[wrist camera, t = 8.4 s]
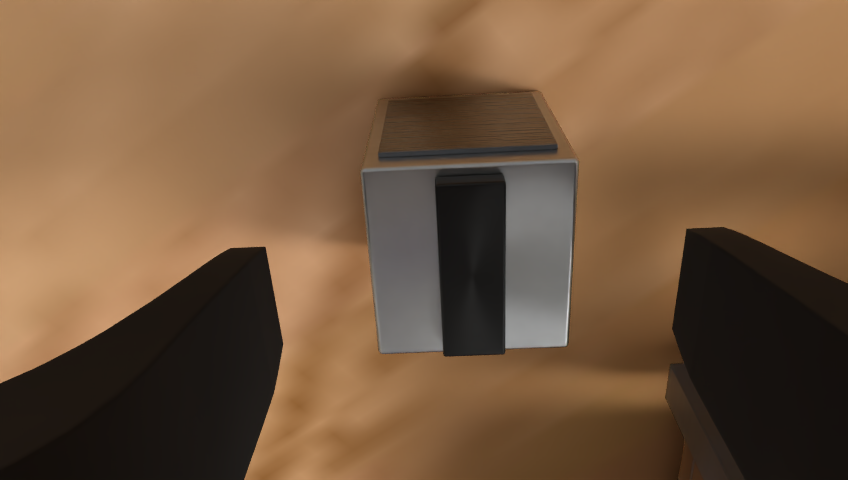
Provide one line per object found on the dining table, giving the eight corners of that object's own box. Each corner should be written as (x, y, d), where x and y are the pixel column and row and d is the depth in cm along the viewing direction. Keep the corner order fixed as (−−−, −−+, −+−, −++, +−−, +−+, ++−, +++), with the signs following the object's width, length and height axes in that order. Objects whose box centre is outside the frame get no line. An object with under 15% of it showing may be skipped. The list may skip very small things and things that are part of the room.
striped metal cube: (390, 249, 17) (376, 368, 13) (376, 93, 16) (356, 172, 11) (537, 243, 17) (573, 361, 13) (541, 85, 15) (585, 161, 11)
